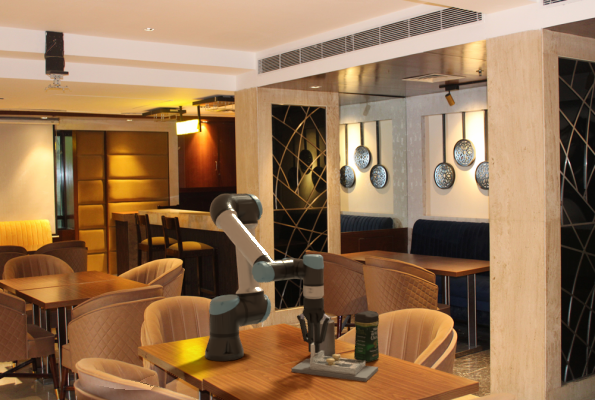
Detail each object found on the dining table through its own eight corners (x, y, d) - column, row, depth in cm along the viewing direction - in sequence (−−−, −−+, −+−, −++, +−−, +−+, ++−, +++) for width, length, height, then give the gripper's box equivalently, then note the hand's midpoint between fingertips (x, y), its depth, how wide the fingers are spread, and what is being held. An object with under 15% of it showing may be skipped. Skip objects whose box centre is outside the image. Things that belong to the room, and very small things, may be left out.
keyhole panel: (310, 369, 205) (310, 357, 205) (321, 361, 215) (321, 350, 215) (355, 375, 198) (355, 363, 198) (365, 366, 208) (365, 355, 208)
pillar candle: (327, 350, 235) (327, 314, 235) (339, 356, 226) (338, 318, 226) (306, 353, 231) (305, 316, 231) (317, 359, 222) (317, 321, 222)
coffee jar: (367, 364, 216) (367, 314, 216) (351, 360, 221) (350, 311, 221) (382, 358, 223) (382, 310, 223) (366, 355, 228) (365, 308, 228)
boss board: (291, 371, 206) (291, 358, 206) (307, 361, 219) (306, 348, 219) (366, 381, 195) (366, 367, 195) (378, 370, 208) (378, 356, 208)
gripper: (293, 297, 210) (293, 362, 209) (326, 299, 204) (326, 366, 204) (301, 294, 216) (302, 357, 216) (333, 296, 211) (334, 360, 211)
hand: (314, 361), depth 210 cm, fingers closed
